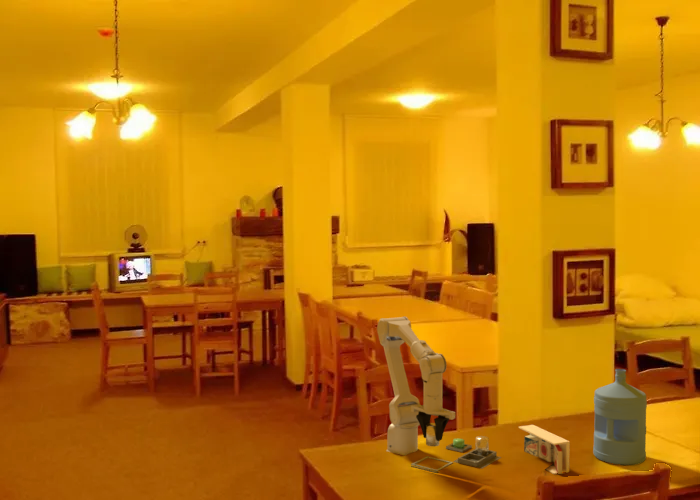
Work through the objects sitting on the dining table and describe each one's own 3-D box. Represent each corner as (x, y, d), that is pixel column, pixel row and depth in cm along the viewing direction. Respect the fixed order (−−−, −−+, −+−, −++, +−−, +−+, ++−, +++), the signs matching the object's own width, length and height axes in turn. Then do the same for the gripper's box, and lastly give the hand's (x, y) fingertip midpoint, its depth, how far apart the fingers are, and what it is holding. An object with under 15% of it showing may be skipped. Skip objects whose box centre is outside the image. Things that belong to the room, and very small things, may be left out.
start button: (451, 449, 240) (451, 440, 240) (456, 446, 243) (456, 437, 243) (460, 451, 238) (460, 442, 238) (466, 448, 241) (466, 439, 241)
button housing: (445, 452, 240) (446, 446, 240) (455, 447, 245) (455, 441, 245) (462, 456, 236) (462, 449, 236) (471, 451, 241) (471, 445, 241)
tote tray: (411, 468, 225) (411, 464, 225) (427, 460, 232) (427, 456, 232) (437, 475, 219) (437, 470, 219) (452, 466, 227) (452, 462, 227)
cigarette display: (517, 455, 237) (518, 426, 237) (532, 453, 239) (532, 424, 239) (556, 476, 219) (556, 444, 218) (572, 473, 221) (572, 442, 220)
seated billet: (473, 457, 232) (473, 438, 231) (479, 453, 235) (479, 435, 235) (484, 459, 229) (484, 440, 229) (490, 456, 232) (490, 437, 232)
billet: (423, 444, 225) (423, 425, 225) (430, 441, 228) (430, 422, 228) (434, 447, 223) (434, 427, 222) (441, 443, 226) (441, 424, 226)
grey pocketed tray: (452, 465, 228) (453, 457, 228) (472, 454, 238) (472, 446, 238) (482, 472, 222) (482, 463, 222) (501, 461, 232) (501, 452, 232)
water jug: (607, 446, 246) (608, 362, 244) (654, 457, 235) (655, 369, 233) (584, 457, 235) (585, 370, 233) (632, 469, 224) (633, 378, 222)
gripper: (460, 395, 223) (460, 439, 224) (419, 388, 232) (419, 431, 233) (448, 400, 218) (448, 445, 219) (407, 392, 227) (407, 436, 228)
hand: (432, 438), depth 225 cm, fingers closed on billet, 4 cm apart
